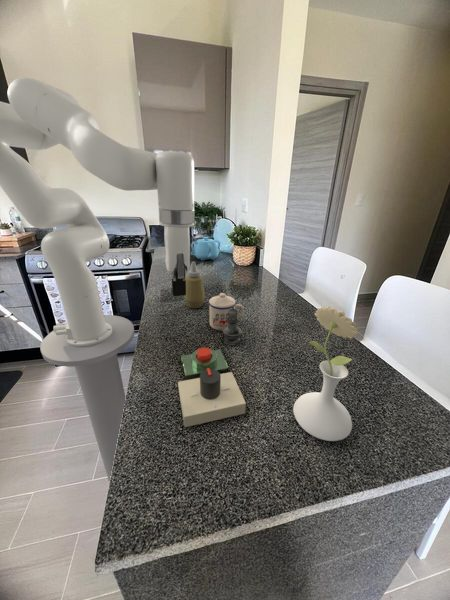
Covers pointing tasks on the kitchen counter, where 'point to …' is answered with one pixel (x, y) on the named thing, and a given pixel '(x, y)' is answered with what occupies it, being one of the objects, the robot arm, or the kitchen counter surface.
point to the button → (203, 354)
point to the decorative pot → (206, 248)
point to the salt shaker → (232, 328)
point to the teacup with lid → (221, 310)
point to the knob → (210, 384)
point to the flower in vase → (327, 385)
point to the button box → (203, 364)
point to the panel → (210, 401)
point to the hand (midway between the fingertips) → (179, 294)
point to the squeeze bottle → (194, 288)
